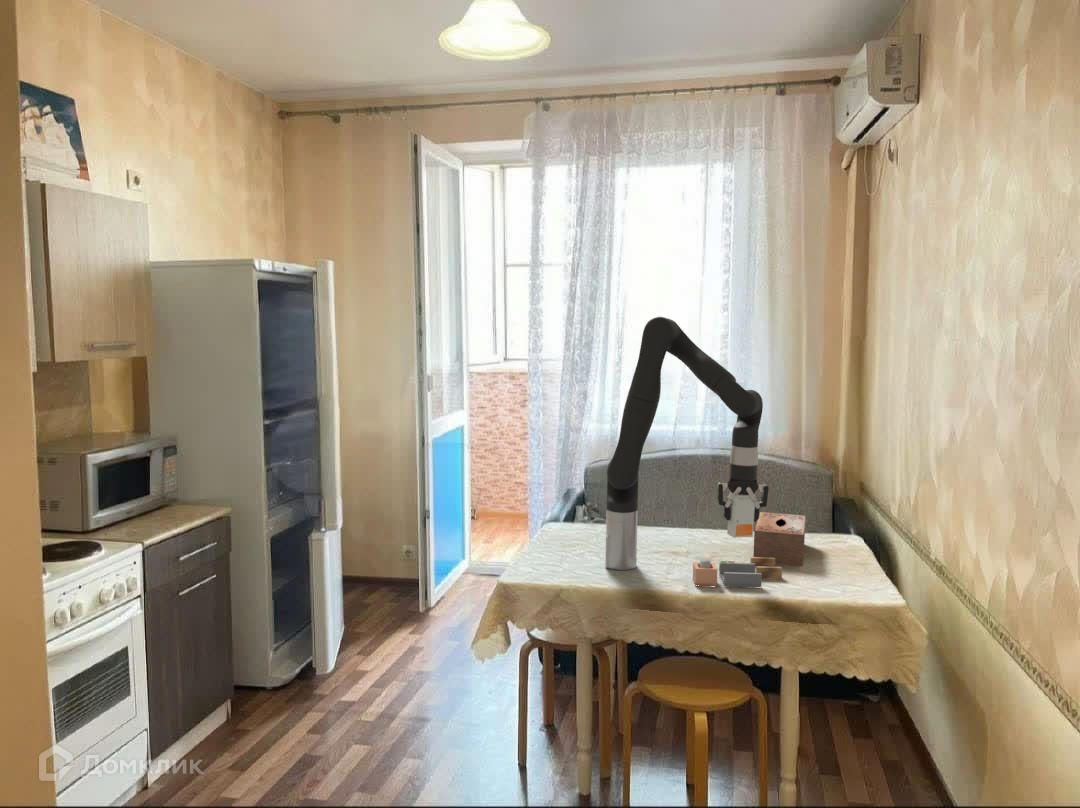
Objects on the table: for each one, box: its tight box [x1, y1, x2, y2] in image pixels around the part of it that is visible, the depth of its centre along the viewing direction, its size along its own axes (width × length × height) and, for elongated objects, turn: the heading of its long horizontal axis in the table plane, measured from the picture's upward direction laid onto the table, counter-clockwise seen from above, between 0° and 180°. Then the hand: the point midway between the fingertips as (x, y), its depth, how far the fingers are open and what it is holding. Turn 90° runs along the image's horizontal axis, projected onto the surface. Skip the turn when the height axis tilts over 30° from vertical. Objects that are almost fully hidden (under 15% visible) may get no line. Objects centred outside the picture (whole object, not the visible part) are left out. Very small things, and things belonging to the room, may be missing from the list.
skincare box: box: [726, 492, 756, 539], centre depth 231 cm, size 6×4×12 cm
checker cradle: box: [718, 559, 763, 588], centre depth 233 cm, size 10×10×5 cm
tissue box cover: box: [752, 511, 806, 568], centre depth 262 cm, size 26×14×10 cm, turn 161°
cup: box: [692, 558, 719, 587], centre depth 232 cm, size 6×6×6 cm
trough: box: [749, 556, 783, 580], centre depth 241 cm, size 7×10×3 cm
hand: (741, 520), depth 231 cm, fingers closed on skincare box, 7 cm apart
